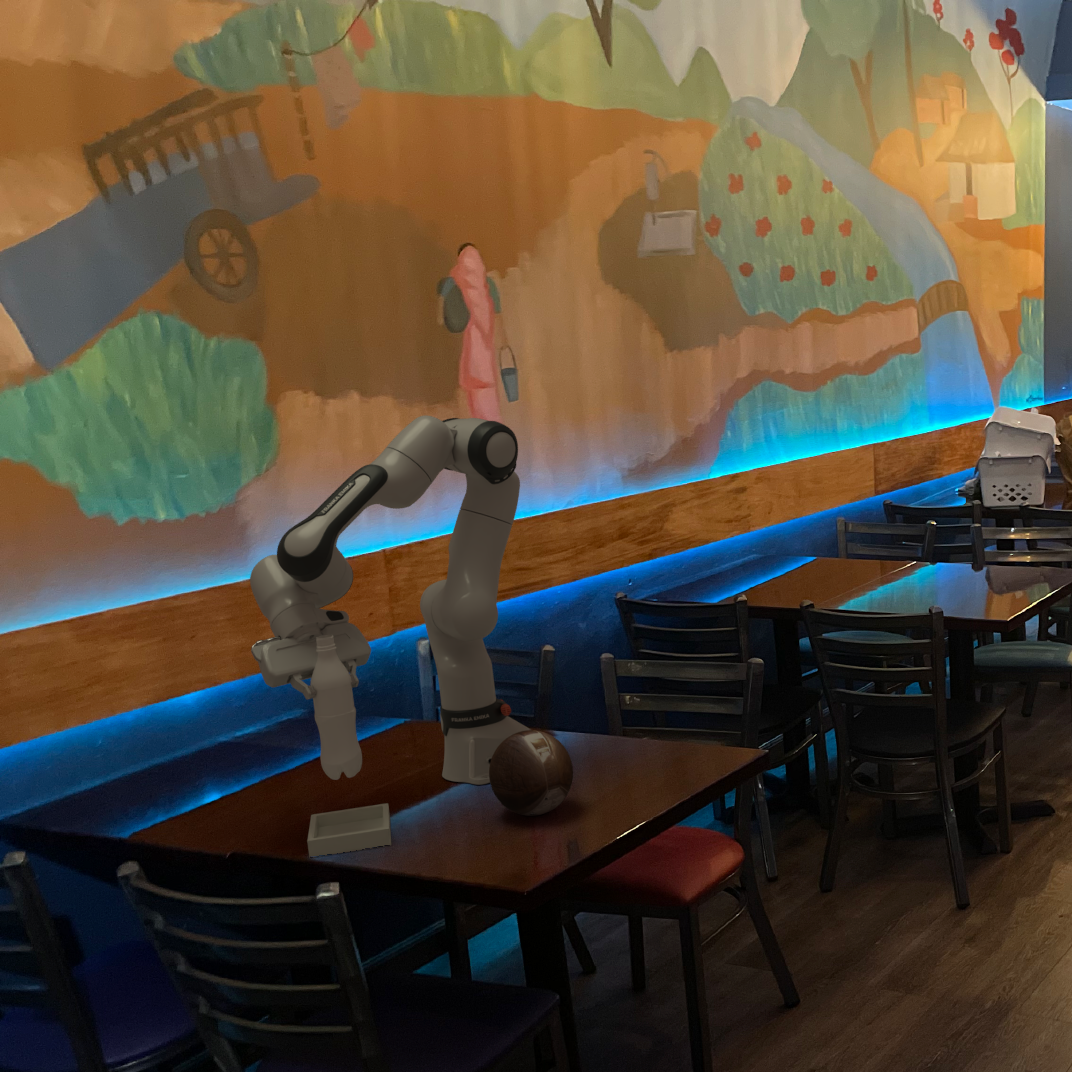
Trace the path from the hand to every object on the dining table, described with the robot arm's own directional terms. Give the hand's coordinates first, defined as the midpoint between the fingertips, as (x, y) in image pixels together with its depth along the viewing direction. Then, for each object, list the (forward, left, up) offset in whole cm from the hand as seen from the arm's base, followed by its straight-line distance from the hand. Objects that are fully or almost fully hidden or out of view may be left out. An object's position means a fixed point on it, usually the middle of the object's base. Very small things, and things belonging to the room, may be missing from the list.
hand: (333, 691), depth 211 cm
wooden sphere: (-33, +2, -27) cm, 42 cm away
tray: (0, 0, -27) cm, 27 cm away
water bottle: (0, 0, -16) cm, 16 cm away
